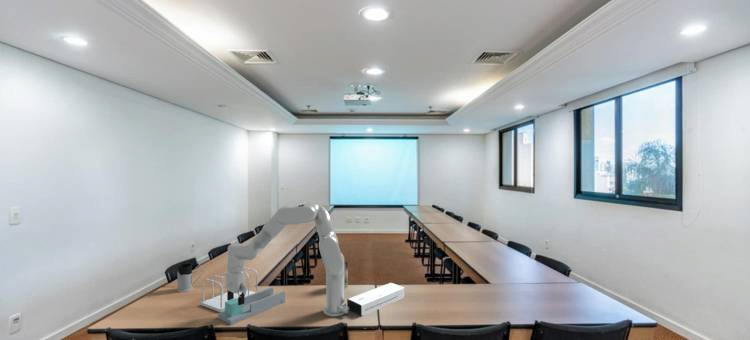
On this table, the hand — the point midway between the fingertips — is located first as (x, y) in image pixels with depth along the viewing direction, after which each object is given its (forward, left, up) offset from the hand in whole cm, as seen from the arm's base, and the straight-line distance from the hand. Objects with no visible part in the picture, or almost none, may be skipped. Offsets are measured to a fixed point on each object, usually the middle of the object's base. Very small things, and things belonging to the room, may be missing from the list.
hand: (235, 301), depth 167 cm
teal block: (0, +1, -6) cm, 6 cm away
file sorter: (+20, -9, -8) cm, 23 cm away
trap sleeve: (0, -10, -7) cm, 12 cm away
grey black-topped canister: (+58, -4, -8) cm, 58 cm away
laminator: (-49, -55, -8) cm, 74 cm away
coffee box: (-17, -59, -8) cm, 62 cm away
